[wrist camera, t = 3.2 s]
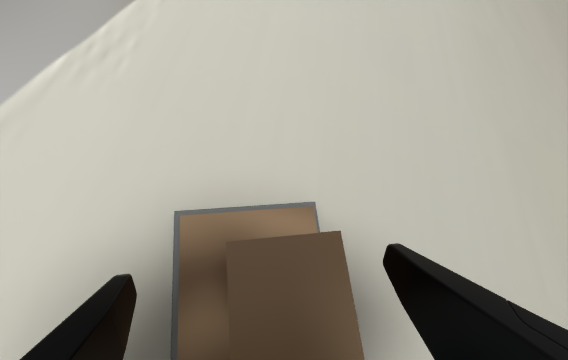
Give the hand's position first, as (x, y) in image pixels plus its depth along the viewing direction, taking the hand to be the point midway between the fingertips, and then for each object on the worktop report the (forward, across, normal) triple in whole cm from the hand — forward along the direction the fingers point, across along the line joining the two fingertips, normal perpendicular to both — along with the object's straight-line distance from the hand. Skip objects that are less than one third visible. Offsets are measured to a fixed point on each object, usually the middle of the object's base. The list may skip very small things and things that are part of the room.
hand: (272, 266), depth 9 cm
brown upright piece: (+6, 0, +7) cm, 9 cm away
